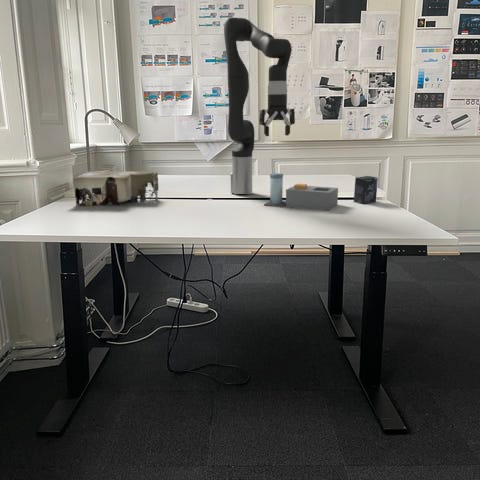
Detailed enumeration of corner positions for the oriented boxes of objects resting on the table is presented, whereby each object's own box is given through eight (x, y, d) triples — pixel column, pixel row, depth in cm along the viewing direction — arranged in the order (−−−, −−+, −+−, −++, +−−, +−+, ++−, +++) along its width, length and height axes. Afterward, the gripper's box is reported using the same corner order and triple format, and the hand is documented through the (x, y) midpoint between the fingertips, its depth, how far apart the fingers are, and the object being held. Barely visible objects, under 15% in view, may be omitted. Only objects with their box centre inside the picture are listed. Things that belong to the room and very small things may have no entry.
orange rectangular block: (294, 197, 200) (294, 185, 199) (297, 195, 204) (297, 183, 203) (303, 197, 199) (303, 185, 197) (306, 196, 202) (306, 184, 201)
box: (363, 204, 201) (365, 178, 198) (353, 202, 206) (354, 177, 203) (376, 202, 206) (378, 177, 203) (366, 199, 210) (367, 175, 207)
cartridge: (267, 202, 204) (268, 173, 201) (279, 201, 206) (280, 173, 203) (272, 204, 199) (272, 175, 196) (284, 203, 201) (285, 174, 198)
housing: (285, 206, 199) (286, 189, 197) (296, 201, 209) (296, 185, 207) (328, 210, 191) (329, 192, 189) (337, 204, 201) (338, 187, 199)
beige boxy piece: (149, 208, 200) (147, 176, 196) (75, 207, 203) (72, 176, 199) (160, 199, 217) (158, 170, 213) (91, 199, 220) (88, 170, 216)
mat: (263, 205, 201) (263, 204, 201) (271, 202, 208) (271, 200, 208) (281, 207, 198) (281, 205, 197) (289, 203, 204) (289, 202, 204)
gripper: (290, 93, 196) (289, 134, 201) (257, 93, 192) (257, 135, 196) (298, 93, 189) (297, 135, 194) (263, 93, 185) (263, 137, 190)
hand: (277, 135), depth 195 cm, fingers open, 8 cm apart
